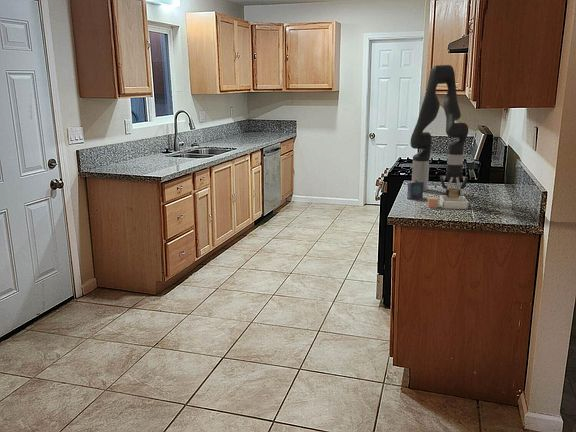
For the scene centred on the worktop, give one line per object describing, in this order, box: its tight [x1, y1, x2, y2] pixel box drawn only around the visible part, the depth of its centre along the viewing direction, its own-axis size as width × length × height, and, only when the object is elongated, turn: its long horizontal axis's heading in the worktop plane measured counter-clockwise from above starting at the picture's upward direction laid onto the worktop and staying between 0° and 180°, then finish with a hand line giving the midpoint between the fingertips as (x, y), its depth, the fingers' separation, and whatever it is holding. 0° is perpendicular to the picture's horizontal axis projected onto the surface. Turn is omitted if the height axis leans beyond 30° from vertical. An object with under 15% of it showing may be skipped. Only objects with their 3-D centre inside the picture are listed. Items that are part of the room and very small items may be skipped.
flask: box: [406, 178, 424, 200], centre depth 270 cm, size 9×3×11 cm, turn 109°
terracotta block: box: [427, 196, 439, 209], centre depth 251 cm, size 4×4×4 cm
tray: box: [438, 194, 469, 210], centre depth 253 cm, size 15×12×4 cm
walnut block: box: [448, 187, 459, 198], centre depth 255 cm, size 4×4×4 cm
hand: (452, 196), depth 256 cm, fingers closed on walnut block, 4 cm apart
